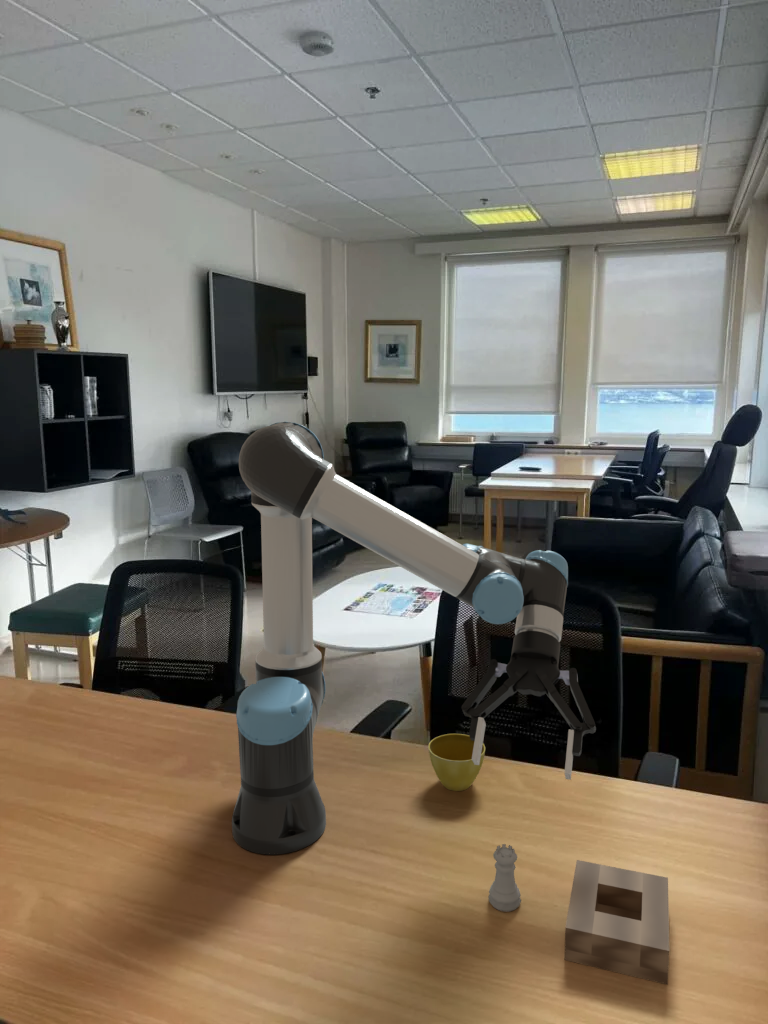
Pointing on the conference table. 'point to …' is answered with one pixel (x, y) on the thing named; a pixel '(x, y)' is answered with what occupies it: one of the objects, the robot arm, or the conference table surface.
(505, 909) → the rook chess piece
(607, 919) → the socket block
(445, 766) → the flower pot
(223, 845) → the conference table surface
